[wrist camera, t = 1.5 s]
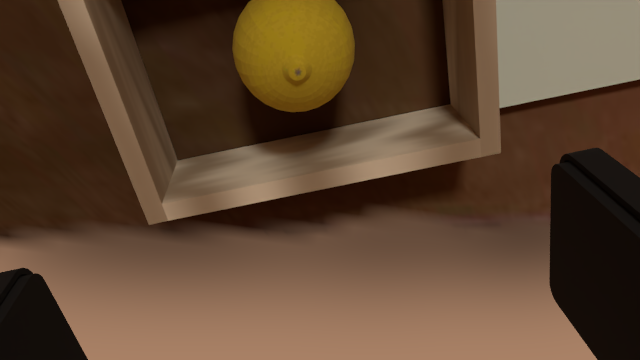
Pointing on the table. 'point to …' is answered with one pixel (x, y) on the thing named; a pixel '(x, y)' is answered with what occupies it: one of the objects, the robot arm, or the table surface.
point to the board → (565, 47)
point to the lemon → (293, 52)
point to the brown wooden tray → (294, 152)
